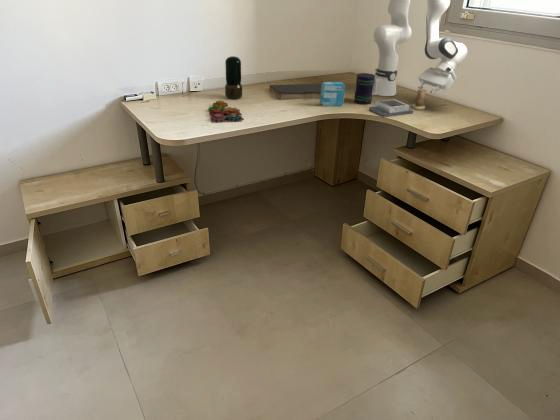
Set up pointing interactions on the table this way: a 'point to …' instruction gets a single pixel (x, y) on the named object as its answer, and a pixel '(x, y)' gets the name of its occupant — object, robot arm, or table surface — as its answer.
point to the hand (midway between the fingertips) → (425, 90)
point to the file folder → (296, 91)
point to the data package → (332, 93)
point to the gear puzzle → (224, 113)
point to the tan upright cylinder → (419, 100)
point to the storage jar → (364, 88)
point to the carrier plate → (390, 108)
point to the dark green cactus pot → (233, 78)
